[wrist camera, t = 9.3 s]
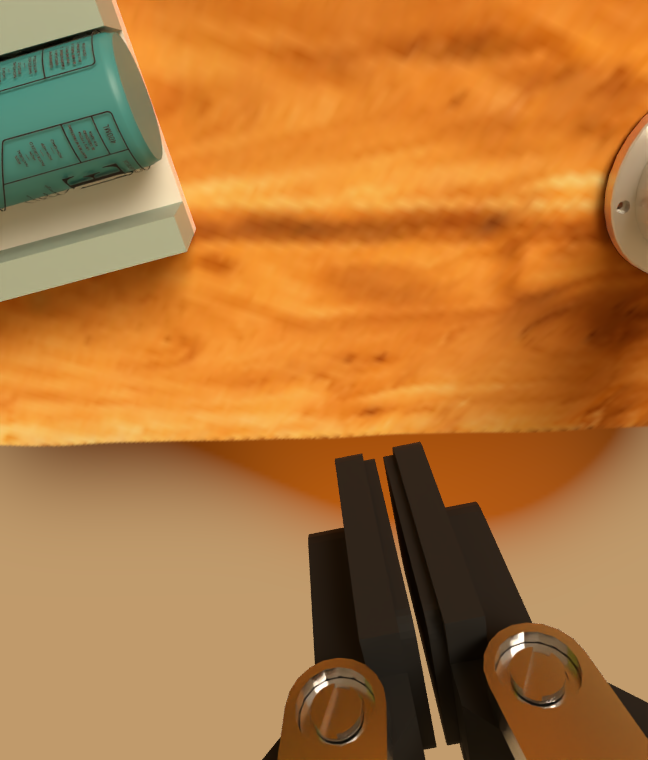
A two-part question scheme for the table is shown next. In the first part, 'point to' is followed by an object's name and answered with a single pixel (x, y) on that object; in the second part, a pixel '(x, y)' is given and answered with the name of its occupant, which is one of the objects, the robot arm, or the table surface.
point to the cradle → (91, 204)
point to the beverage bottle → (73, 118)
